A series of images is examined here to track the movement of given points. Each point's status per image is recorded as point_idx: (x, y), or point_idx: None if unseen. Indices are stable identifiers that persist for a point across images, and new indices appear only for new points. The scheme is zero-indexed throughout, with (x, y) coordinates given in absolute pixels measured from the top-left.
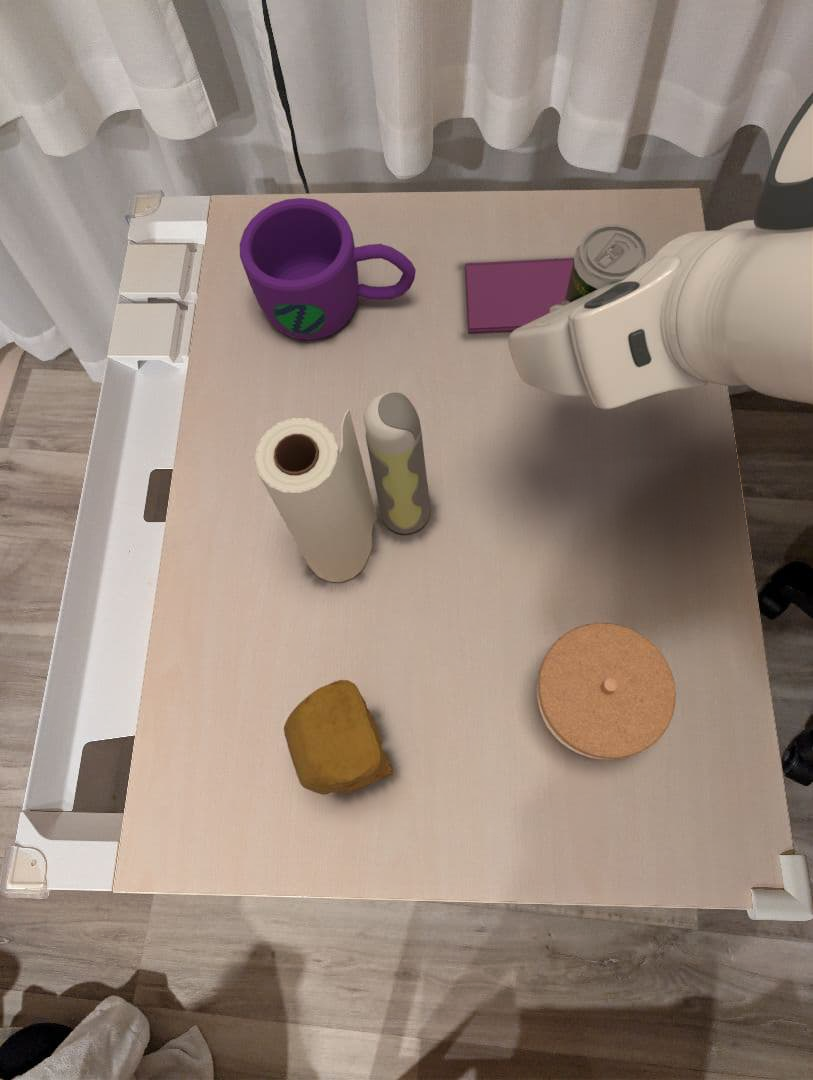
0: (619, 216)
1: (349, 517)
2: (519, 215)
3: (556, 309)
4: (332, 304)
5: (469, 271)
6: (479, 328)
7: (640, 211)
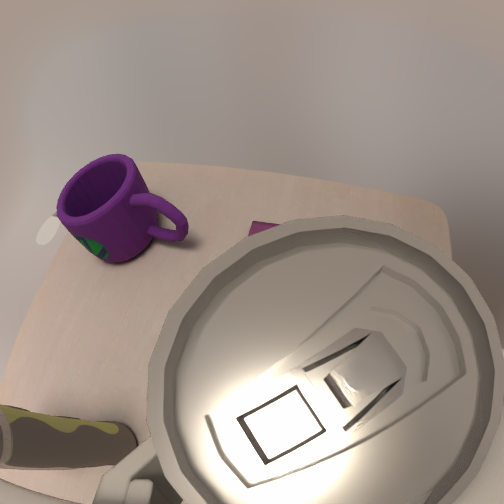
0: (393, 207)
1: (2, 464)
2: (312, 190)
3: (45, 501)
4: (108, 240)
5: (252, 228)
6: None
7: (409, 207)
